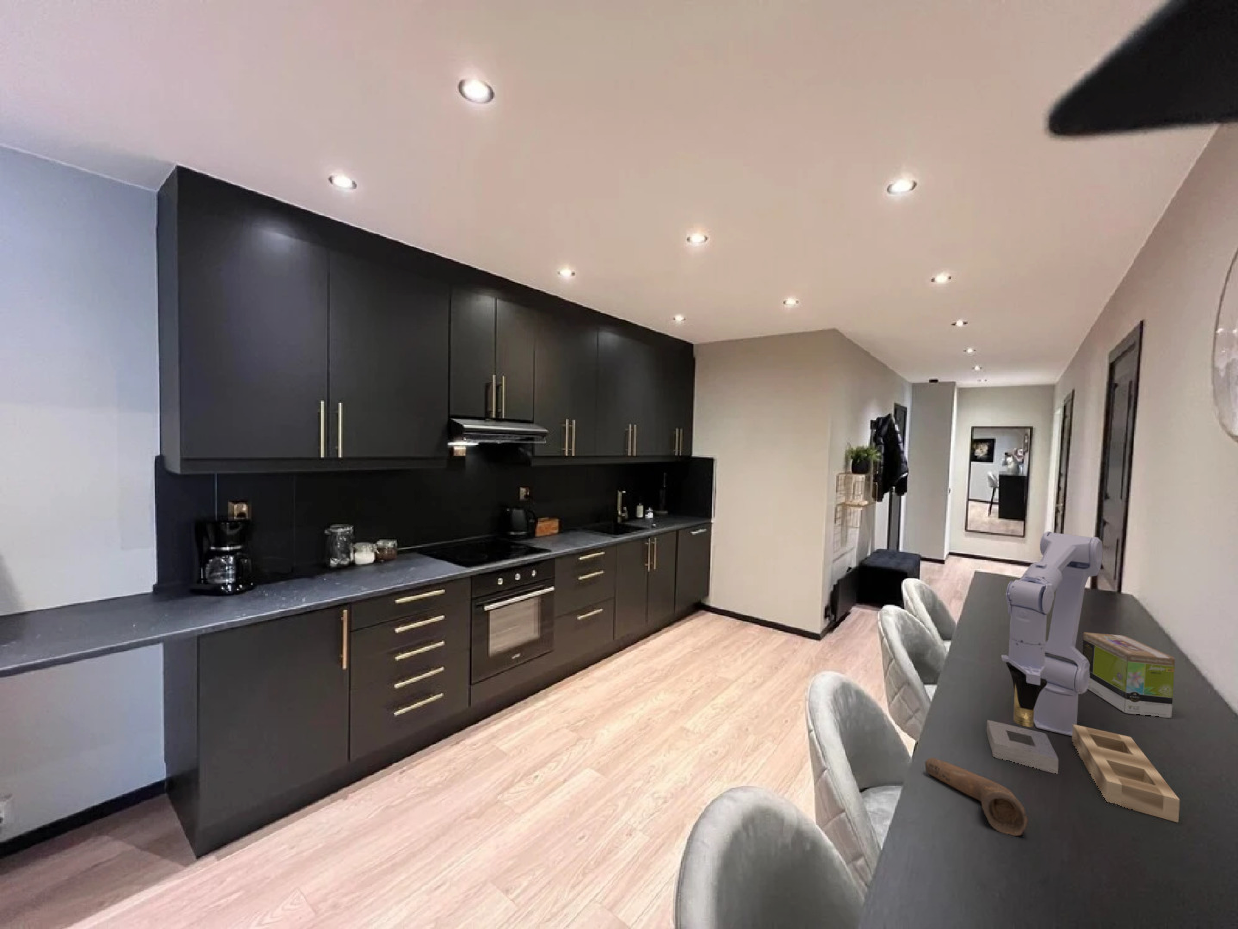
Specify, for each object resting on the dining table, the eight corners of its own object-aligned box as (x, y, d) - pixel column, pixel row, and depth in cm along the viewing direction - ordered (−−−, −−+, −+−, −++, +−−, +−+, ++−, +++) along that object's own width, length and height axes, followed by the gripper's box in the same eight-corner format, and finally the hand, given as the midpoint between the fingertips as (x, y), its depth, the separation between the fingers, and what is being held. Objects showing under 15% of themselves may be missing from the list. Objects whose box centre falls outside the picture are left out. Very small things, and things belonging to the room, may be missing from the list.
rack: (1071, 742, 106) (1072, 724, 106) (1129, 756, 101) (1130, 737, 101) (1106, 802, 88) (1107, 781, 88) (1178, 822, 83) (1179, 799, 83)
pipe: (933, 743, 97) (912, 754, 91) (1041, 789, 84) (1025, 805, 78) (930, 776, 97) (909, 789, 91) (1038, 828, 84) (1022, 847, 78)
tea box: (1174, 719, 116) (1177, 658, 115) (1123, 714, 118) (1126, 653, 117) (1122, 688, 130) (1125, 634, 130) (1078, 684, 132) (1081, 630, 132)
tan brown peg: (1012, 716, 104) (1014, 675, 104) (1031, 721, 102) (1033, 679, 102) (1015, 724, 101) (1016, 681, 101) (1035, 728, 100) (1037, 685, 99)
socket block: (986, 733, 109) (987, 719, 109) (1045, 747, 104) (1045, 733, 104) (993, 757, 100) (994, 743, 100) (1057, 774, 95) (1058, 759, 95)
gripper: (997, 625, 109) (994, 684, 110) (1008, 647, 97) (1005, 715, 97) (1038, 631, 106) (1035, 693, 106) (1055, 655, 93) (1052, 725, 94)
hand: (1024, 704), depth 102 cm, fingers closed on tan brown peg, 3 cm apart
